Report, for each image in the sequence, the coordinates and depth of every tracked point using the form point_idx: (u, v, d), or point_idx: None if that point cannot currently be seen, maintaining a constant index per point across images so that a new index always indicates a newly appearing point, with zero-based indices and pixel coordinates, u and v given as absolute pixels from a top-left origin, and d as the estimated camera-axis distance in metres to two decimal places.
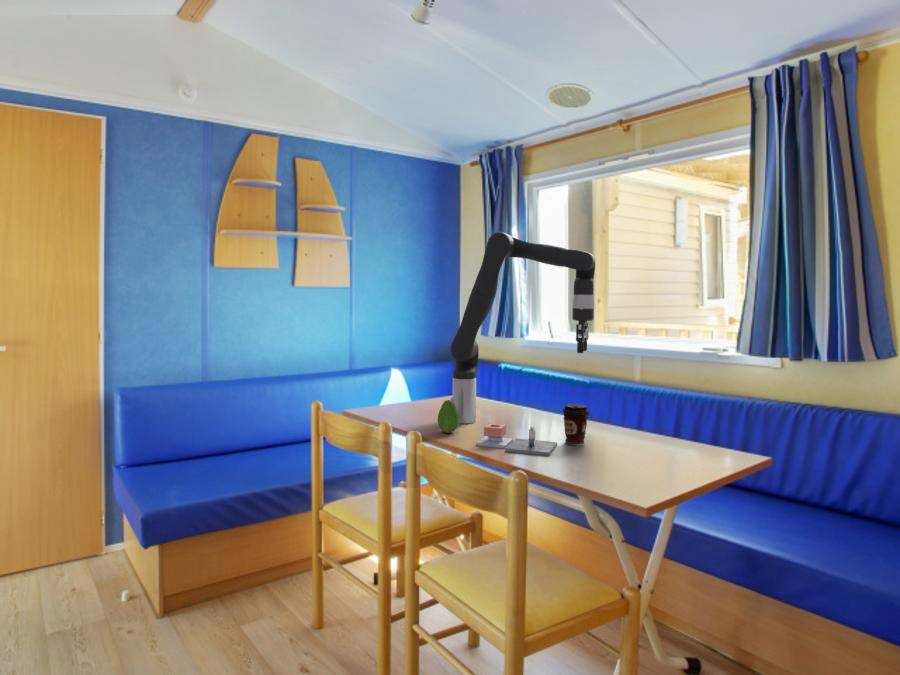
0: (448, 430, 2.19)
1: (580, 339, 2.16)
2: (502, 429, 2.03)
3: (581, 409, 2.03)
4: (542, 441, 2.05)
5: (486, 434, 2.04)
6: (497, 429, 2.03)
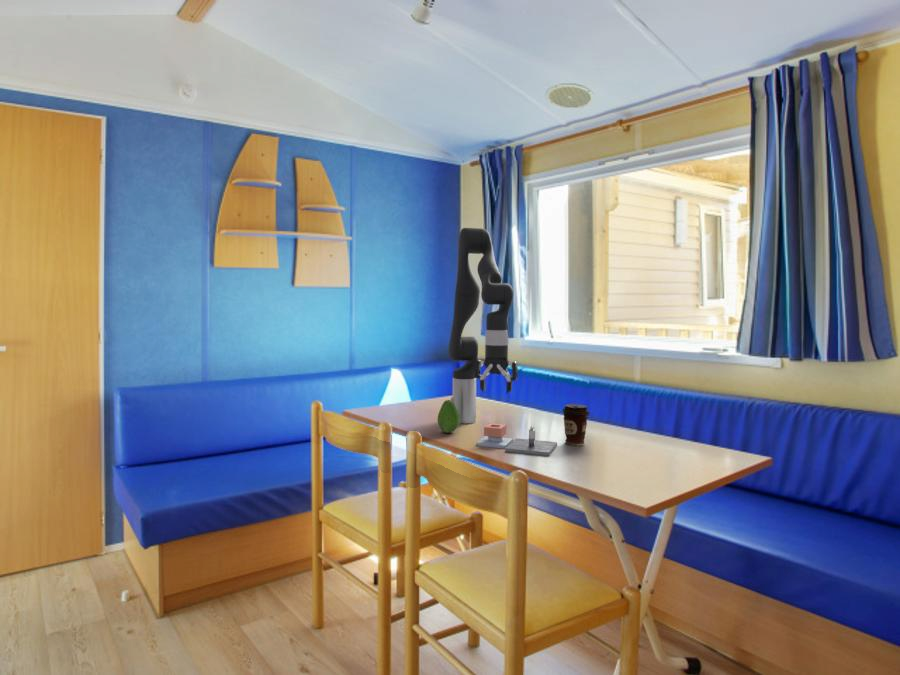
0: (448, 430, 2.19)
1: (516, 377, 2.03)
2: (502, 429, 2.03)
3: (581, 409, 2.03)
4: (542, 441, 2.05)
5: (486, 434, 2.04)
6: (497, 429, 2.03)
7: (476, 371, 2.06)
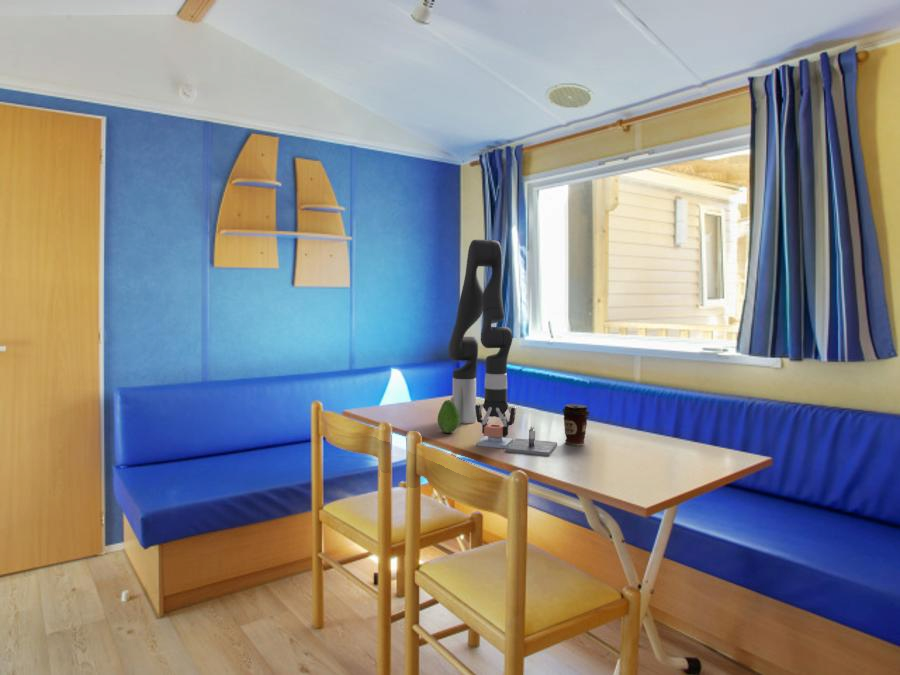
0: (448, 430, 2.19)
1: (513, 422, 2.04)
2: (502, 429, 2.03)
3: (581, 409, 2.03)
4: (542, 441, 2.05)
5: (486, 434, 2.04)
6: (497, 429, 2.03)
7: (477, 415, 2.07)
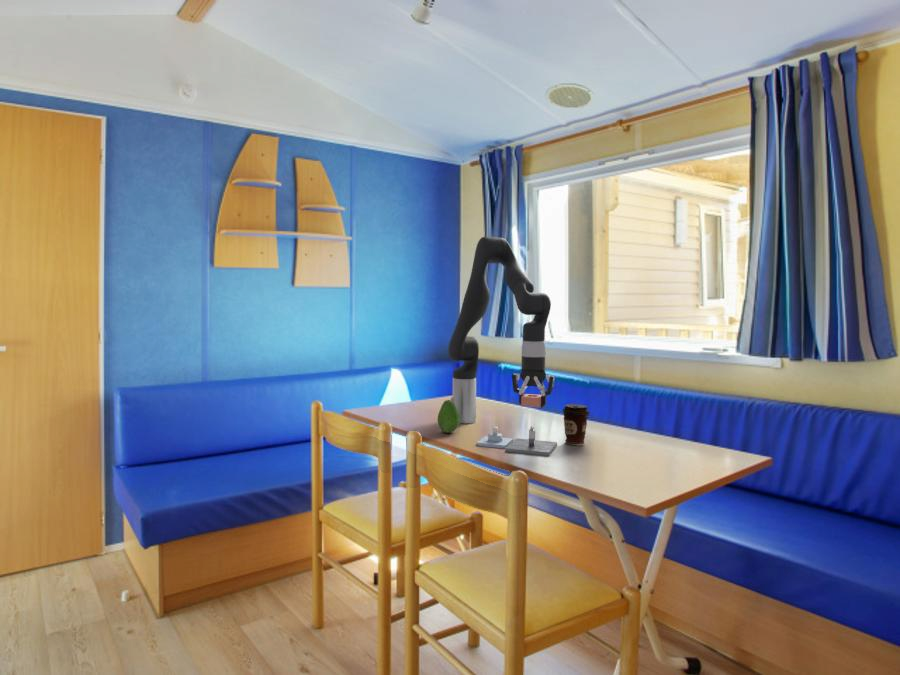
0: (448, 430, 2.19)
1: (551, 392, 1.97)
2: (540, 399, 1.96)
3: (581, 409, 2.03)
4: (542, 441, 2.05)
5: (523, 404, 1.97)
6: (535, 399, 1.95)
7: (514, 385, 1.99)
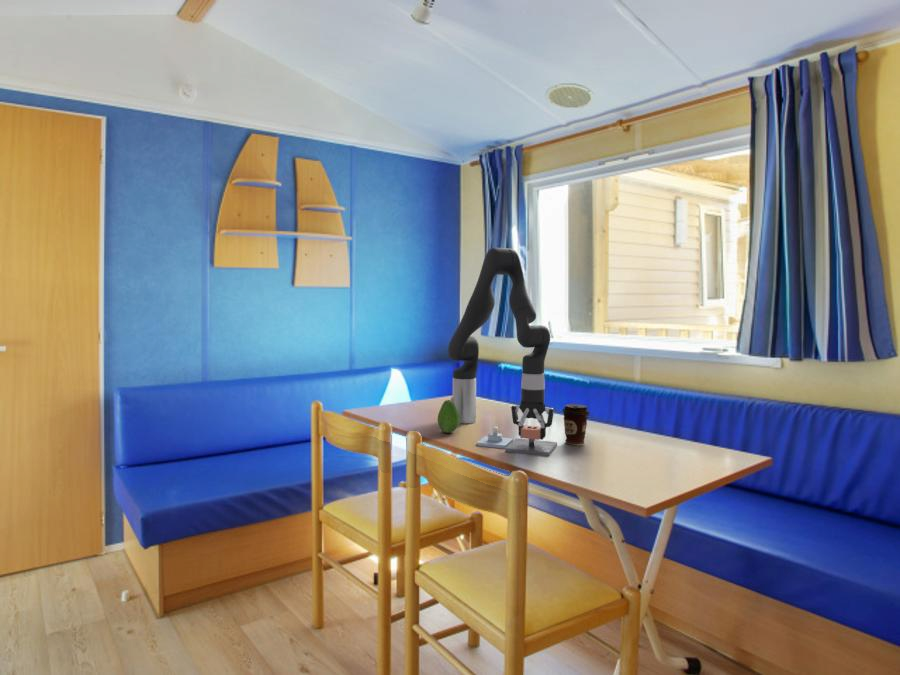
0: (448, 430, 2.19)
1: (550, 424, 1.98)
2: (540, 431, 1.97)
3: (581, 409, 2.03)
4: (542, 441, 2.05)
5: (523, 436, 1.98)
6: (535, 431, 1.96)
7: (513, 417, 2.00)
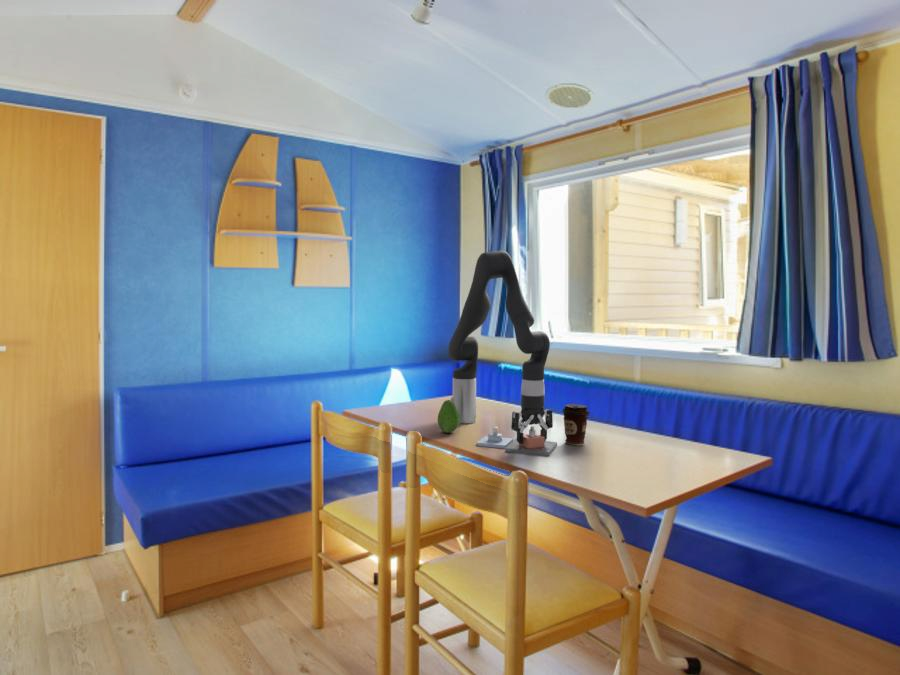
0: (448, 430, 2.19)
1: None
2: None
3: (581, 409, 2.03)
4: None
5: (530, 446, 1.96)
6: (541, 438, 1.98)
7: (516, 424, 1.96)
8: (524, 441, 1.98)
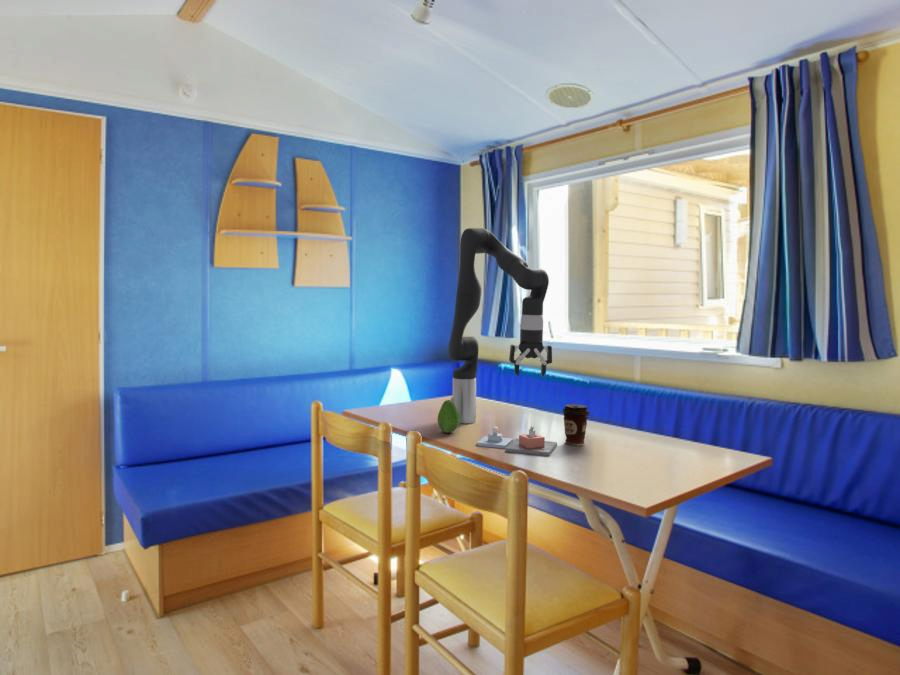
0: (448, 430, 2.19)
1: None
2: None
3: (581, 409, 2.03)
4: None
5: (530, 446, 1.96)
6: (541, 438, 1.98)
7: (512, 356, 2.06)
8: (524, 441, 1.98)
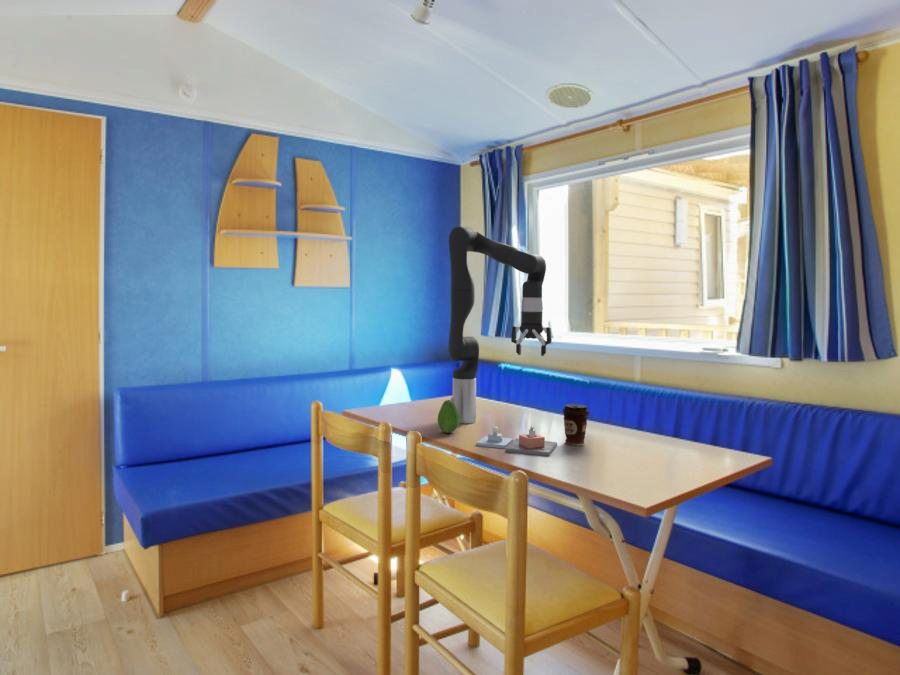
0: (448, 430, 2.19)
1: (550, 341, 2.19)
2: None
3: (581, 409, 2.03)
4: None
5: (530, 446, 1.96)
6: (541, 438, 1.98)
7: (512, 336, 2.22)
8: (524, 441, 1.98)
